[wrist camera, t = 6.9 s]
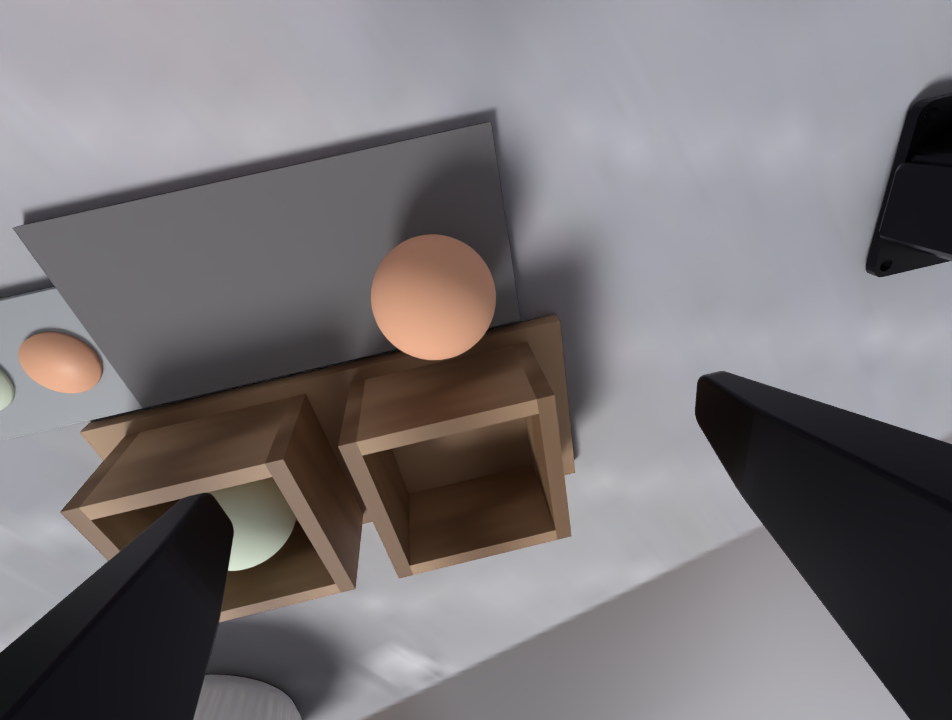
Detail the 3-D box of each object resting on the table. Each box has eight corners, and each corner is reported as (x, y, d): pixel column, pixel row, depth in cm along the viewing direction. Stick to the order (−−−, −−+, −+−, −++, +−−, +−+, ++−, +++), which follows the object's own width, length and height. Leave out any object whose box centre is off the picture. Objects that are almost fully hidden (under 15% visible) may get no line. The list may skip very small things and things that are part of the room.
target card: (78, 281, 15) (67, 287, 14) (160, 399, 18) (152, 408, 17) (-131, 327, 15) (-151, 336, 14) (-18, 440, 17) (-31, 451, 17)
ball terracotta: (474, 210, 15) (494, 240, 12) (493, 314, 17) (515, 366, 14) (359, 236, 15) (345, 274, 12) (392, 338, 17) (389, 396, 14)
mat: (488, 121, 14) (490, 122, 14) (518, 316, 18) (520, 320, 17) (21, 225, 14) (12, 228, 14) (147, 402, 17) (142, 408, 17)
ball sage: (283, 432, 18) (257, 507, 15) (318, 498, 20) (302, 577, 17) (186, 456, 18) (138, 537, 15) (231, 520, 20) (198, 604, 17)
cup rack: (555, 314, 18) (595, 370, 14) (571, 464, 22) (605, 537, 19) (89, 422, 18) (2, 510, 14) (196, 554, 22) (152, 648, 18)
